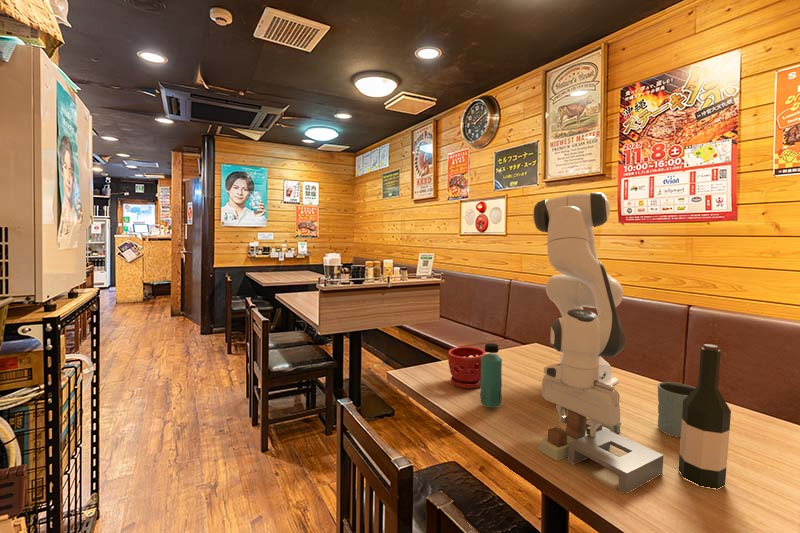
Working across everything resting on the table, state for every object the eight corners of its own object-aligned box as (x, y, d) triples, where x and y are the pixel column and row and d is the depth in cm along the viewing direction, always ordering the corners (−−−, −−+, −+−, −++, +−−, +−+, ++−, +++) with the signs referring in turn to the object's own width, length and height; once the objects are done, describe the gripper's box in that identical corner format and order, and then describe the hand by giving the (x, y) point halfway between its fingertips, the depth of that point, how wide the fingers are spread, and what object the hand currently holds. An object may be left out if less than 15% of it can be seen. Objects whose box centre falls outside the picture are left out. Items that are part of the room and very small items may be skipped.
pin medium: (555, 447, 102) (556, 426, 102) (566, 453, 99) (567, 431, 99) (547, 450, 101) (547, 429, 100) (557, 456, 98) (558, 434, 97)
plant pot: (462, 374, 153) (462, 343, 152) (492, 384, 144) (493, 351, 143) (440, 383, 144) (440, 350, 143) (470, 394, 135) (471, 359, 134)
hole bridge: (604, 445, 103) (605, 428, 103) (662, 474, 91) (663, 455, 91) (567, 460, 96) (568, 442, 96) (625, 493, 84) (626, 473, 84)
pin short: (590, 433, 109) (591, 419, 109) (601, 439, 106) (602, 424, 106) (583, 436, 108) (583, 422, 107) (594, 442, 105) (594, 427, 104)
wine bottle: (669, 468, 93) (677, 340, 91) (702, 466, 94) (712, 340, 91) (698, 491, 85) (709, 351, 83) (735, 489, 86) (746, 351, 83)
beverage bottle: (501, 413, 121) (503, 347, 119) (479, 411, 122) (480, 346, 121) (500, 404, 127) (502, 342, 126) (479, 402, 129) (481, 340, 127)
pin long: (573, 440, 106) (575, 406, 105) (584, 445, 103) (586, 411, 102) (565, 443, 104) (567, 409, 103) (576, 449, 101) (578, 414, 100)
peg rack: (591, 430, 111) (591, 421, 111) (609, 439, 106) (610, 429, 106) (538, 450, 101) (538, 440, 100) (556, 460, 96) (557, 450, 96)
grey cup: (647, 425, 114) (649, 384, 113) (670, 419, 118) (673, 379, 117) (684, 443, 104) (687, 398, 103) (708, 435, 108) (711, 392, 107)
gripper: (627, 386, 94) (624, 443, 95) (554, 362, 112) (552, 411, 113) (611, 391, 91) (608, 450, 92) (538, 365, 109) (536, 416, 110)
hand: (577, 428), depth 102 cm, fingers open, 6 cm apart
